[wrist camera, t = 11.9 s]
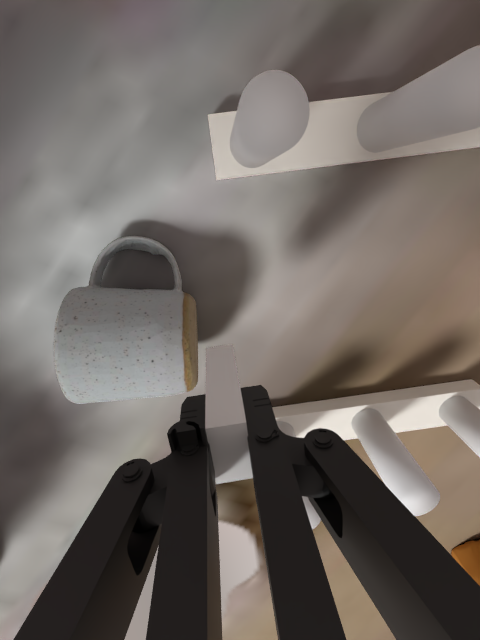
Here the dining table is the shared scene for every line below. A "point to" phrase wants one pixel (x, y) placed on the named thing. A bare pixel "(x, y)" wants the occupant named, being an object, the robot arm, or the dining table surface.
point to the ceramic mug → (126, 336)
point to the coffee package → (469, 558)
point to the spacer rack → (346, 148)
